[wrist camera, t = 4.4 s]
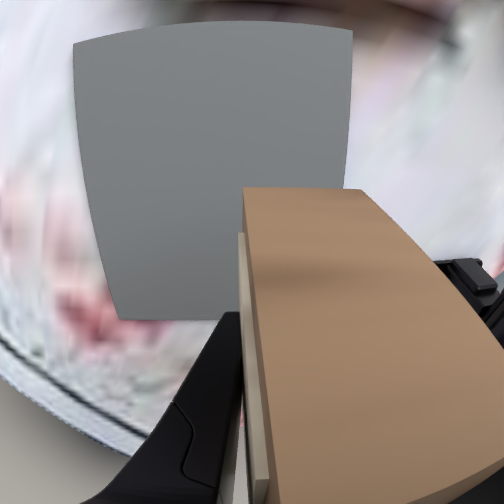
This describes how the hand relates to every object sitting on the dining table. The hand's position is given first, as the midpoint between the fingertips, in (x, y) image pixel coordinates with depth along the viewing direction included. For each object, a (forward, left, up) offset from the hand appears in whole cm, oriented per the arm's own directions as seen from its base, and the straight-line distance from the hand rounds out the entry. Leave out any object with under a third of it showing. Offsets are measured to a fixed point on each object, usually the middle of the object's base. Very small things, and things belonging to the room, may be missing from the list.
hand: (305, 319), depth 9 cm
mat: (0, +3, -12) cm, 12 cm away
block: (0, 0, -2) cm, 2 cm away
